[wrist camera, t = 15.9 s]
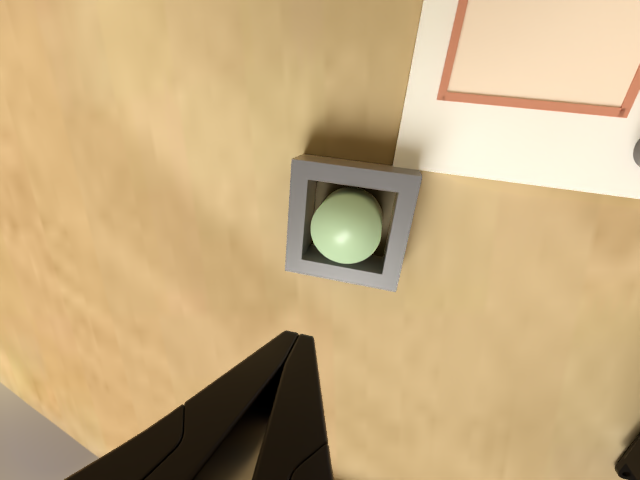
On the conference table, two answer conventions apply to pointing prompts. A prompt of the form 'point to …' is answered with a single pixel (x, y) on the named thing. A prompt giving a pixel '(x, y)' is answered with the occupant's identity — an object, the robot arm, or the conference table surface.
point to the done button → (347, 225)
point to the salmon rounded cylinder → (637, 153)
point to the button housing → (358, 174)
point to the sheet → (526, 93)
